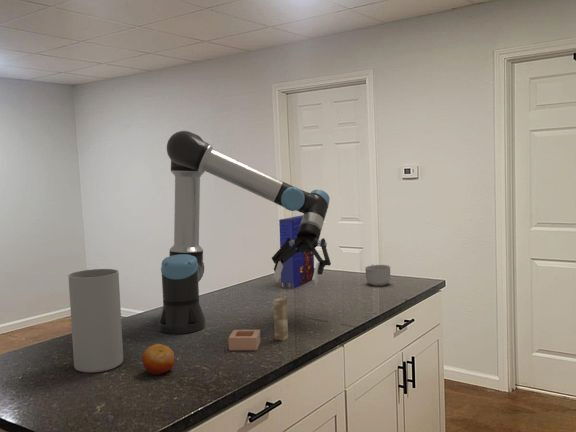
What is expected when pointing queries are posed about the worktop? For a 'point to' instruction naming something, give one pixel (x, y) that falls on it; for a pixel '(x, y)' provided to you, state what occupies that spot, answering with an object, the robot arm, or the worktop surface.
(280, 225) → the cereal box
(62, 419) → the worktop surface
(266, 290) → the worktop surface
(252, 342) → the orange-brown square frame
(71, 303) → the cylinder vase
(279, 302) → the beige tall square post
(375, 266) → the teacup
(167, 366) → the fruit
